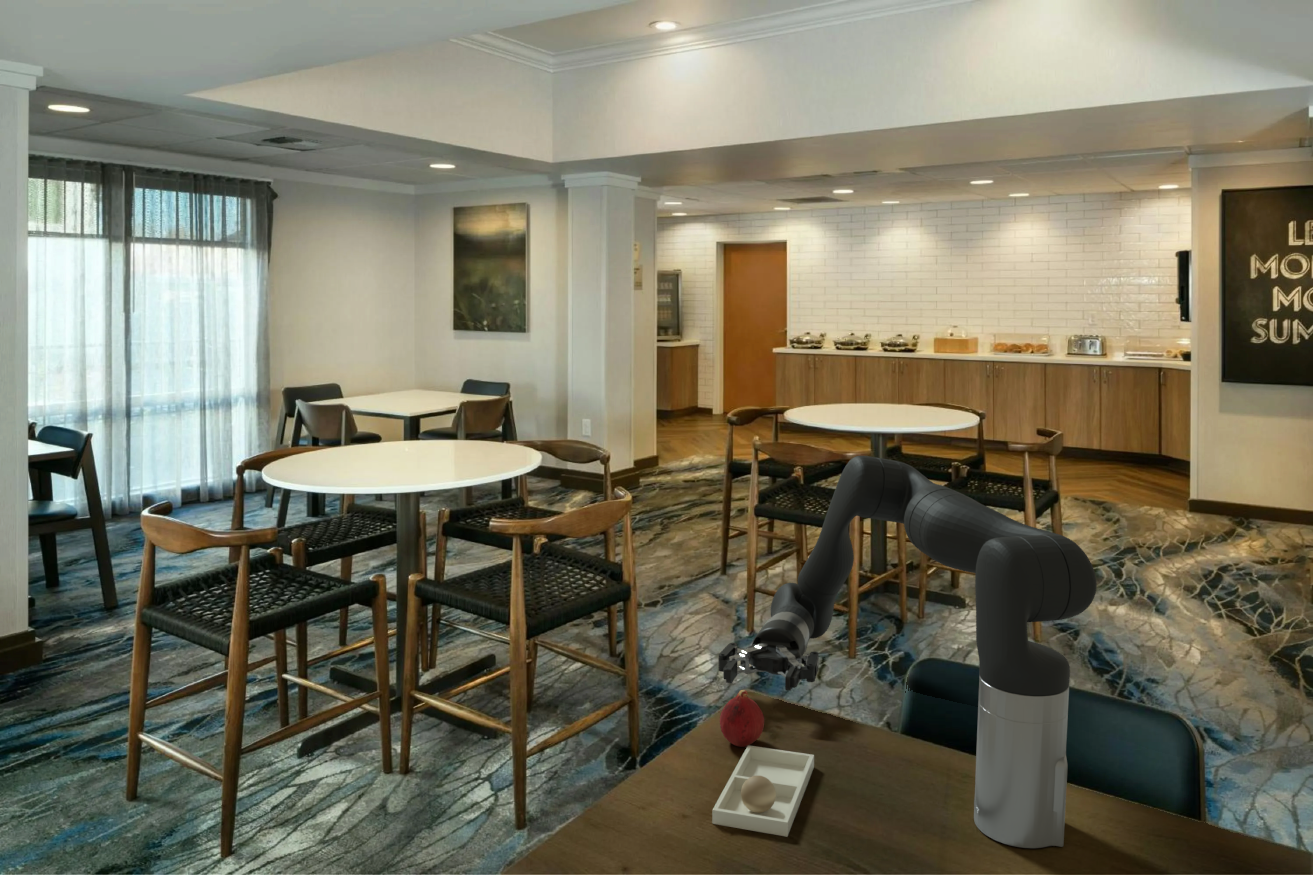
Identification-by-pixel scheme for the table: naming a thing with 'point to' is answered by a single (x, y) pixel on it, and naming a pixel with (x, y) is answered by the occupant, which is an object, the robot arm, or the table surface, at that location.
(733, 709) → the onion
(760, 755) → the white divided tray
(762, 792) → the beige wooden ball
